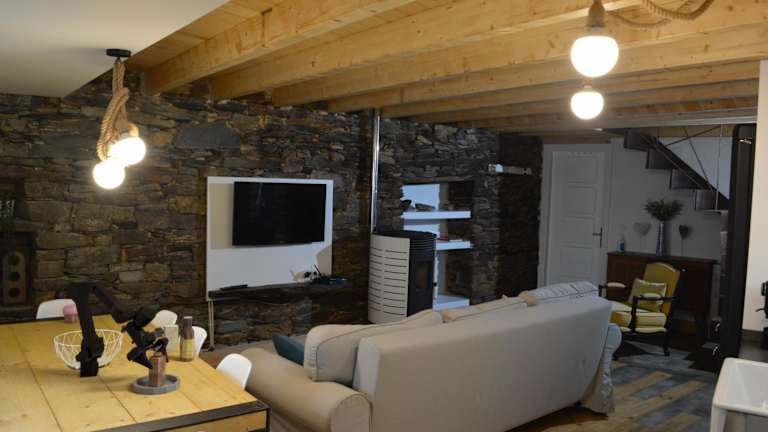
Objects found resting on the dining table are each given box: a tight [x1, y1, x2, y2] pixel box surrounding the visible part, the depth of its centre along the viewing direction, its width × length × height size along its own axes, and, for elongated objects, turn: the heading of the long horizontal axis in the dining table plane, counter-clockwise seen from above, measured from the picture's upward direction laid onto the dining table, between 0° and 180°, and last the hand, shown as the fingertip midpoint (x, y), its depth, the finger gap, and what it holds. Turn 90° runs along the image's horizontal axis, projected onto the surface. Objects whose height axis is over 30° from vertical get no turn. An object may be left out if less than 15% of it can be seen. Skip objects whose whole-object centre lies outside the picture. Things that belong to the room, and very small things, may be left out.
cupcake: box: [61, 303, 79, 324], centre depth 326 cm, size 9×9×10 cm
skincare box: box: [162, 323, 179, 353], centre depth 282 cm, size 6×4×12 cm
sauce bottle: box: [179, 315, 195, 362], centre depth 269 cm, size 6×6×20 cm
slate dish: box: [132, 373, 181, 396], centre depth 234 cm, size 17×17×2 cm
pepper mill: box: [148, 351, 167, 388], centre depth 233 cm, size 4×4×13 cm
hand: (160, 365), depth 233 cm, fingers open, 9 cm apart
